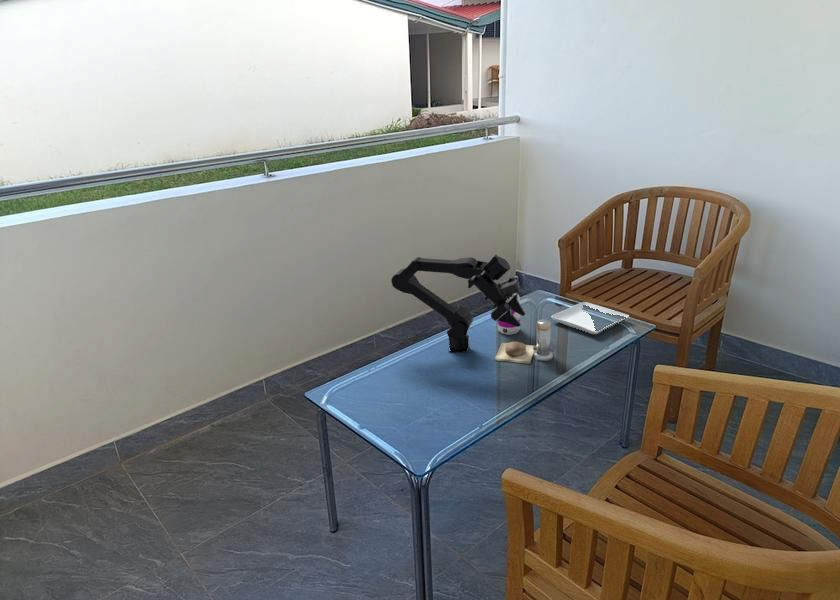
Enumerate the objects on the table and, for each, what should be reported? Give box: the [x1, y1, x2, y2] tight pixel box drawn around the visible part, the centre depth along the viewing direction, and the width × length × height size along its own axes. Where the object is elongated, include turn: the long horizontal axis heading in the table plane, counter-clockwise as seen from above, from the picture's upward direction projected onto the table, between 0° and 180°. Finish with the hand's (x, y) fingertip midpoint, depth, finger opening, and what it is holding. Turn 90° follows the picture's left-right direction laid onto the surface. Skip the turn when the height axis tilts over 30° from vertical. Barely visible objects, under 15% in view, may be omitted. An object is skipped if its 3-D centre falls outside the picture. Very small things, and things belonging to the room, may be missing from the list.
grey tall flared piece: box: [532, 318, 554, 362], centre depth 203 cm, size 7×6×13 cm
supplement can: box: [497, 294, 521, 335], centre depth 223 cm, size 8×8×15 cm
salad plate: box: [551, 301, 630, 335], centre depth 228 cm, size 21×21×3 cm
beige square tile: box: [494, 341, 535, 364], centre depth 208 cm, size 12×12×3 cm
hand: (522, 320), depth 203 cm, fingers open, 9 cm apart
